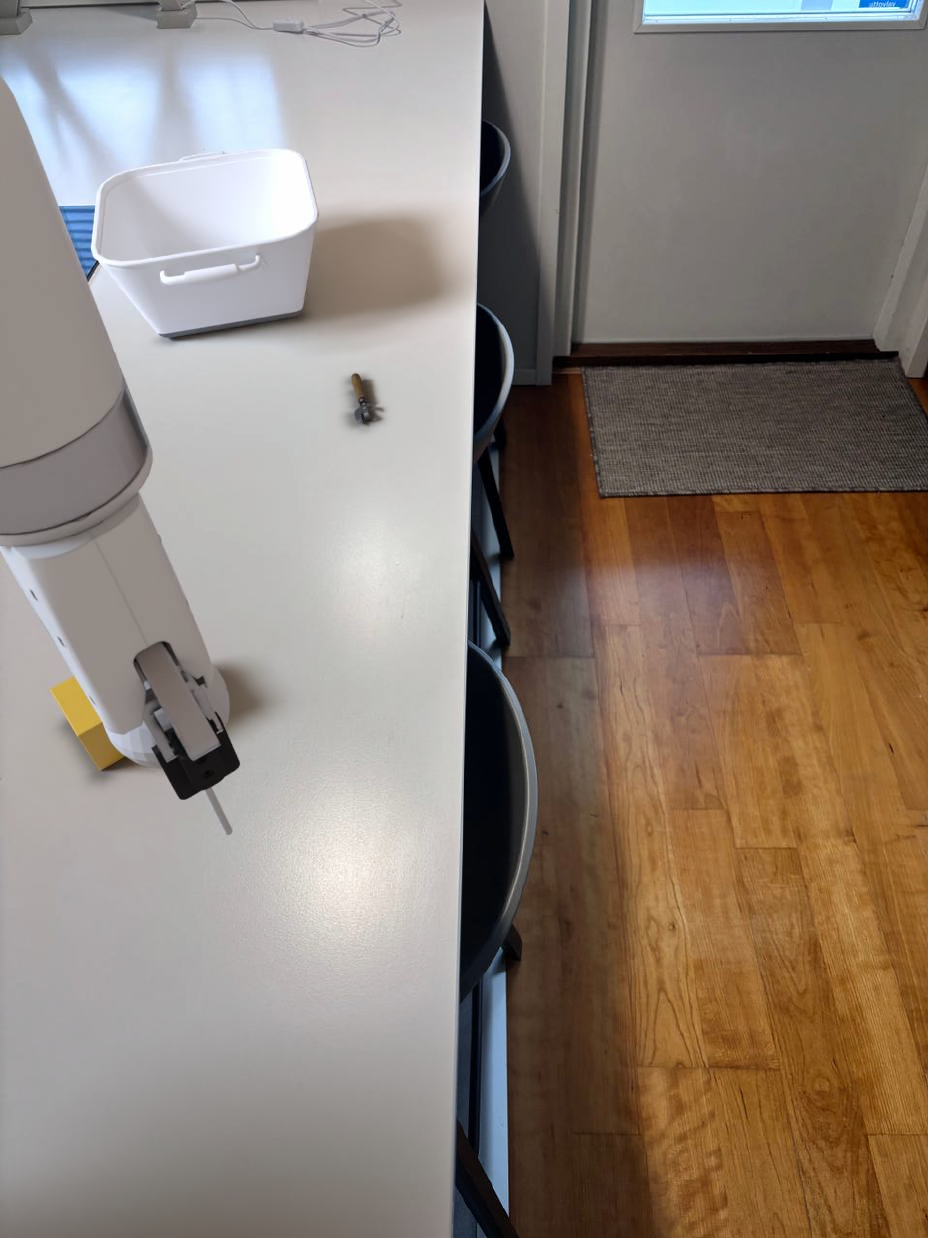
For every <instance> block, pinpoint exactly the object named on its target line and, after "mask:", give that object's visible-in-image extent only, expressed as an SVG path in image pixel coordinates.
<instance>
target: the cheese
mask: <svg viewBox="0 0 928 1238" xmlns="http://www.w3.org/2000/svg"><path fill="white" fill-rule="evenodd" d="M49 691H50V693H51V694H52V696H53V697H54V699H55V701H56V703H57V705H58V706H59V708H60V709H61V712H62V713H63V715H64V717H65V718H66V720H67V721H68V723H69V725H70V727H71V728H72V730H73V732H74V733H75V735H76V737H77V738H78V740H79V741H80V743H81V744H82V746H83V747H84V749H85V750H86V752H87V754H88V755H89V757H90V758H91V760H92V762H93V763H94V764H95V765H96V767H97V769H98V770H99V771H103V770H104V769H107V768H108V767H110V766H112V765H113V764H114V763H116V762H119V761H120V760H122V759H123V758H125V757H126V756H125V755H123V754H122V753H121V752H120V751H118V750H117V749H116V747H115V746H114V745H113V744H112V743H111V741H110V739H109V737H108V735H107V732H106V730H105V727H104V724H103V722H102V721H101V719H100V717H99V716H98V714H97V712H96V711H95V709H94V707H93V706H92V704H91V703H90V701H89V699H88V698H87V696H86V694H85V693H84V691H83V689H82V688H81V686H80V685H79V683H78V681H77V680H76V678H75V676H74V675H73V676H72V677H70V678H67V679H65V680H64V681H62V682H61V683H58V684H56V685H55V686H53V687H51V688H49Z"/></svg>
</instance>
